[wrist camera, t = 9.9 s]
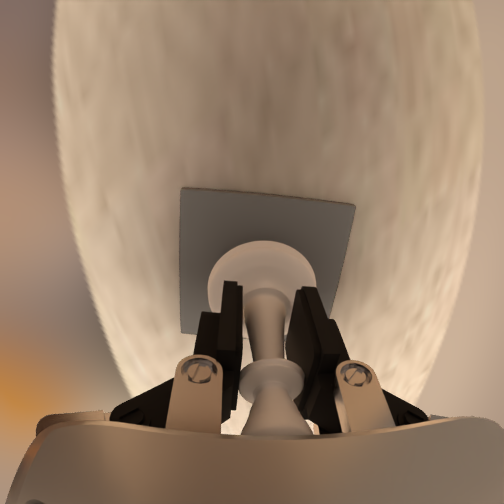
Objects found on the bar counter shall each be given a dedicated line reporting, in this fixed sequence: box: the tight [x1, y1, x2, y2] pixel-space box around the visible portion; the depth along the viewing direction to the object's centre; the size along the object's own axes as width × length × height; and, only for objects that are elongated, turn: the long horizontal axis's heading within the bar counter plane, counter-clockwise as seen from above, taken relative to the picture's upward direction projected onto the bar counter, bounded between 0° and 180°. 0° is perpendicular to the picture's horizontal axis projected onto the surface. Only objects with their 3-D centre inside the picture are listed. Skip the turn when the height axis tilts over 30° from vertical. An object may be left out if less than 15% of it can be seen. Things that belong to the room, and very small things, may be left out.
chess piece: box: [208, 241, 317, 436], centre depth 10 cm, size 5×5×10 cm
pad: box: [179, 188, 356, 341], centre depth 16 cm, size 8×8×1 cm
